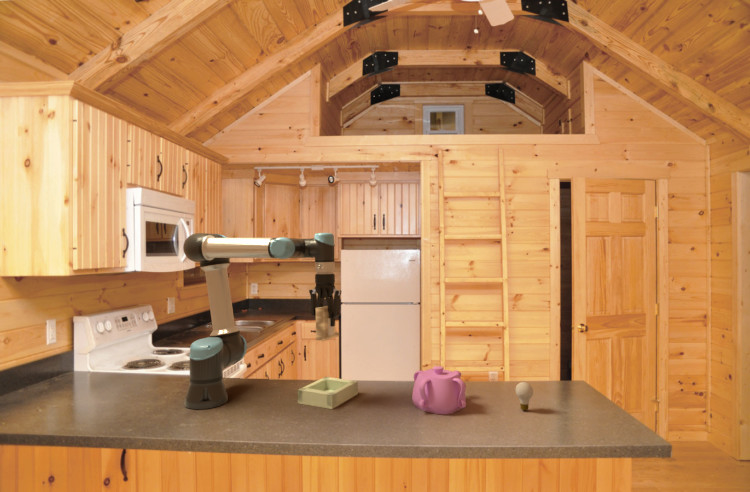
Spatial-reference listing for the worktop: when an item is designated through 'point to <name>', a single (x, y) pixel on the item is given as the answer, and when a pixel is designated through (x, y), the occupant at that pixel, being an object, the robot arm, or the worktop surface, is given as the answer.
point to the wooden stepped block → (323, 324)
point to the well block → (327, 392)
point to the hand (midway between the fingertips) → (325, 334)
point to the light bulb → (524, 394)
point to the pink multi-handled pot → (439, 391)
